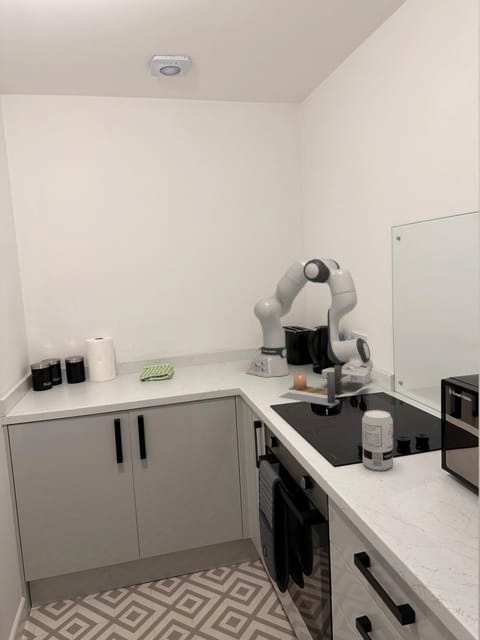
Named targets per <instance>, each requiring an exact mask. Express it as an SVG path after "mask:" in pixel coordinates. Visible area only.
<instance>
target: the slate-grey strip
mask: <svg viewBox="0 0 480 640" xmlns="http://www.w3.org/2000/svg"><path fill="white" fill-rule="evenodd" d="M326 383H327V384H326V389H327V395H326V397H327V398H326V397H321V396H314V395H308V394H304V393H303V394H301V393H296V392H290V391H288V392H285V393H284V394H282V395H279V396H278V398H281V399H288V400H293V401H294V400H295V401H299V402H306V403H310V404H311V403H312V404H317V405H323V406H327V408H328V409H331V408H333V407H335V406H337V405H338V404H339V403H340V399H336V397H335V373H334V372H327V379H326Z"/></svg>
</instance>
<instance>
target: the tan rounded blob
mask: <svg viewBox="0 0 480 640" xmlns="http://www.w3.org/2000/svg"><path fill="white" fill-rule="evenodd" d="M307 384H308V383H307V374H306V373H302V372H299V373H294V374H293V387H294V389H296V390H304V389H306V388H307ZM296 390H295V391H296Z"/></svg>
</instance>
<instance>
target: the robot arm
mask: <svg viewBox="0 0 480 640" xmlns="http://www.w3.org/2000/svg"><path fill="white" fill-rule="evenodd" d="M308 282H312V283H313V284H314V283H316V284H326V285H328V286H329V290H330V295H331V304H330V307H329V308H328V309H327V315H326V316H327V321H326V322H327V356H328V359H329V360H330V361H331V362H333V363H334V364H335V365H340V364H342V363H345V364H343V365H341V366H342V377H341V378H340V379H341V380H340V381H341V382H342V383H346V382H347V383H348V384H354V383H357V384H362V385H363V384H368V383H370V382H371V373H372V370H373V369H372V368H374V363H372V362H373V360H372V359H371V352H370V347H369V344H368V343H367V342H366V341H365V340H364V339H362V338H352V339H346V340H341V339H340V321H341V319H342V318H344V317H345V316H346V315H347V314H349V313H351V312H352V311H353V310H354V309H355V307H356V306H357V303H358V295H357V290H356V286H355V283H354V280H353V277H352V274H351V272H350V271H349V270H348V269H345V268H341V267H340V265H339V264H338V262H337V261H335V260H333V259H330V258H329V259H327V258H313V259H311V260H309V259H307V258H305V257H304V258H303V257H301V258H298V259H297V260H296V261H295V262H294V263H292V265H291V266H290V267H289V268H288V269H287V270H286V272H285V273H284V274H283V276H282V277H281V279H280V280H279V282H277V284H276V290H275V291H274V292H275V293H274V294H273V295H271V296H270V297H266V298H262V299H260V300H259V301H258V302H256V303H255V305H254V307H253V312H254V313H253V314H254V315H255V317H256V318H257V319H258V320H259V323H260V326H261V330H262V338H263V339H262V340H263V342H262V343H263V345H262V346H261V347H259V351H260V353H259V354H258V355H257V356H255V358H253V359H252V361H250V368H248V369H246V374H249V375H254V376H259V377H263V378H272V377H282V376H287V375H290V373H291V372H290V370H289V366H288V360H287V354H288V353H287V345H286V331H285V329H284V327H282V323H281V320H280V319H281V318H283V317H285V316H286V315H288V314H289V313H290V311H291V309H292V305H293V303H294V301H295V299H296V298H297V296H298V295H299V293H300V292H301V291H302V290H303V288H305V286H306V284H307V283H308ZM346 362H347V363H346ZM327 372H334V367H328V368H325V369H322V370H321V377H322V379H325V380H327Z"/></svg>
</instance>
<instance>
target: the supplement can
mask: <svg viewBox="0 0 480 640" xmlns="http://www.w3.org/2000/svg"><path fill="white" fill-rule="evenodd" d="M361 423H362V424H361V425H362V426H361V427H362V430H361V431H362V432H361V433H362V434H361V437H362V439H361V440H362V441H361V442H362V463H363V465H364V466H365V467H366V468H367V469H370V470H372V471H377V472H379V471H381V472H382V471H388V470H389V469H391V468H392V467H393V465H394V419H393V418H392V415H391V413H390V412H388V411H385V410H378V409H374V410H373V409H371V410H367V411H365V412H364V414H363V416H362V419H361Z"/></svg>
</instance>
